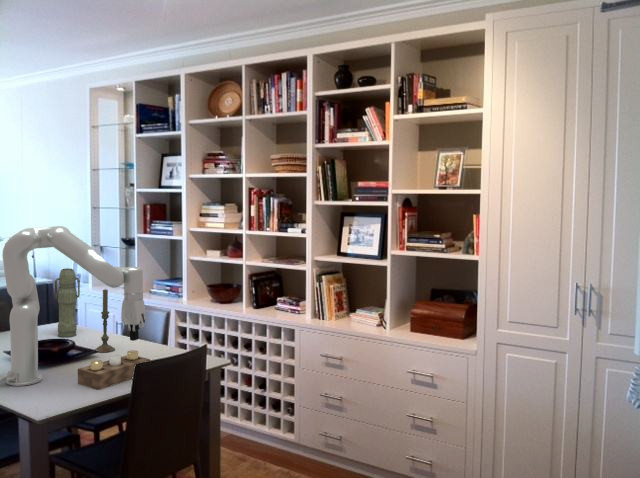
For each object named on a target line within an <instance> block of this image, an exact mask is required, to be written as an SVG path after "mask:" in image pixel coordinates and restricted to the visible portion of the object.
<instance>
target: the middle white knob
mask: <svg viewBox="0 0 640 478" xmlns="http://www.w3.org/2000/svg"><path fill="white" fill-rule="evenodd" d="M121 357H122V356H121V355H119V354H114V355H110V356H109V358H108V360H109V365H111V366H118V365H121Z"/></svg>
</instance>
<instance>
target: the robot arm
mask: <svg viewBox="0 0 640 478" xmlns="http://www.w3.org/2000/svg"><path fill="white" fill-rule="evenodd" d="M46 248H47V249H49V248H54V249H56V250H57V251H58V252H60V254H63V255H64V256H66V257H67V258H68V259H70V260H71V261H73V262H74V263H75V264H77V265H78V266H79V267H80V268H81V269H83V270H84V271H86V272H88V273H89V274H91V276H93V277H94V278H96V279H97V280H98V281H99V282H102V283H103V284H104V285H106V286H107V287H110V288H114V289H115V288H118V287H119V288H120V287H121V286H122V285H123V297H124V298H123V300H122V303H121V313H120V314H121V315H120V316H121V317H120V318H121V319H120V321H121V323H123V324H124V326H127V327H128V332H129V340H130V341H132V342H133V341H138V340H139V331H140V329H141V328H145V323H146V320H147V319H146V318H147V317H146V307H145V300H144V282H143V281H144V271H143V267H140V266H128V267H122V266H121V267H120V266H113V265H112V264H110V263H109V262H108V261H106V260H105V259H104V258H103V257H101V256H100V254H99V253H98V252H97V251H96V250H95V249H94V248H93V247H92V246H91V245H89V244H87V243H86V242H84V241H83V240H82V239H80V238H79V237H78V236H77V235H76V234H74V233H72V232H71V231H70V230H69V228H67V227H66V226H61V225H58V226H57V225H56V226H47V227H45V226H43V227H27V228H24V229H22V230H20V231H18V232H17V233H16V232H15V234H13V235H12V236H11V237H10V238H9V239H8V240H6V242H5V244H4V247H3V248H2V263H3V264H2V265H3V271H4V278H5V285H6V291H7V294H8V295H9V296H10V297H11V302H12V308H11V310H10V313H9V328H10V329H9V330H10V334H9V335H10V370H9V371H7V374H5V375H1V376H0V382H1V383H2V382H4V381H5V383H6V384H7V385H8V386H13V387H14V386H15V387H16V386H17V387H22V386H29V385H34V384H37V383H39V382H41V381H43V376H42V374H39V369H38V368H39V363H38V362H39V351H38V350H39V335H38V334H39V330H38V329H39V328H38V327H39V325H38V318H39V314H40V309H41V308H40V302H39V301H40V300H39V295H38V289H37V283H36V280H35V278H34V276H33V275H32V274H31V273H30V267H29V261H28V254H29V252H31V251H33V250H35V249H46Z"/></svg>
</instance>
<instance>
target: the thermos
mask: <svg viewBox="0 0 640 478" xmlns="http://www.w3.org/2000/svg"><path fill="white" fill-rule="evenodd" d="M76 281H77V290H76ZM58 282H59V283H58ZM58 284H59V287H58ZM80 284H81V281H80V279H79V277H77V276H76V273H75V269H73V268H69V267H67V268H62V269H60V272H59V277H57V278H56V279H55V280H54V297H55V299H57V303H58V323H57V333H58V335H57V337H58V338H65V339H66V338H67V339H68V338H73V337H76V336H77V328H78V325H77V322H76V306H77V305H76V303H77V299H78V298H80V294H81V293H80V292H81V291H80V289H81V288H80V287H81V285H80ZM58 288H59V289H58Z"/></svg>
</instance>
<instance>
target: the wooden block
mask: <svg viewBox="0 0 640 478" xmlns="http://www.w3.org/2000/svg"><path fill="white" fill-rule="evenodd" d="M145 361H150V362H151V359H150V358H148V357H142V356H140V355H138V360H135V361H129V360H127V354H126V355H123V356H121V365H118V366H111V365H109V359H107V360H105V361H104V360H103V370H100V371H97V372H94V371H91V364H90V365H87V366H83V367H80V368H77V384H78V385H80V386H84V387H87V388H90V387H91V388H90V389H94V390H98V391H99V390H102V389H105V388H108V387H112V386H114V384H115V385H117V383H118V384H120V382H121V383H123V381H124V382H126V381H130V380H132V377H133V372H134V367H135V365H136V364H137V363H140V362H145ZM111 385H112V386H111Z"/></svg>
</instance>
